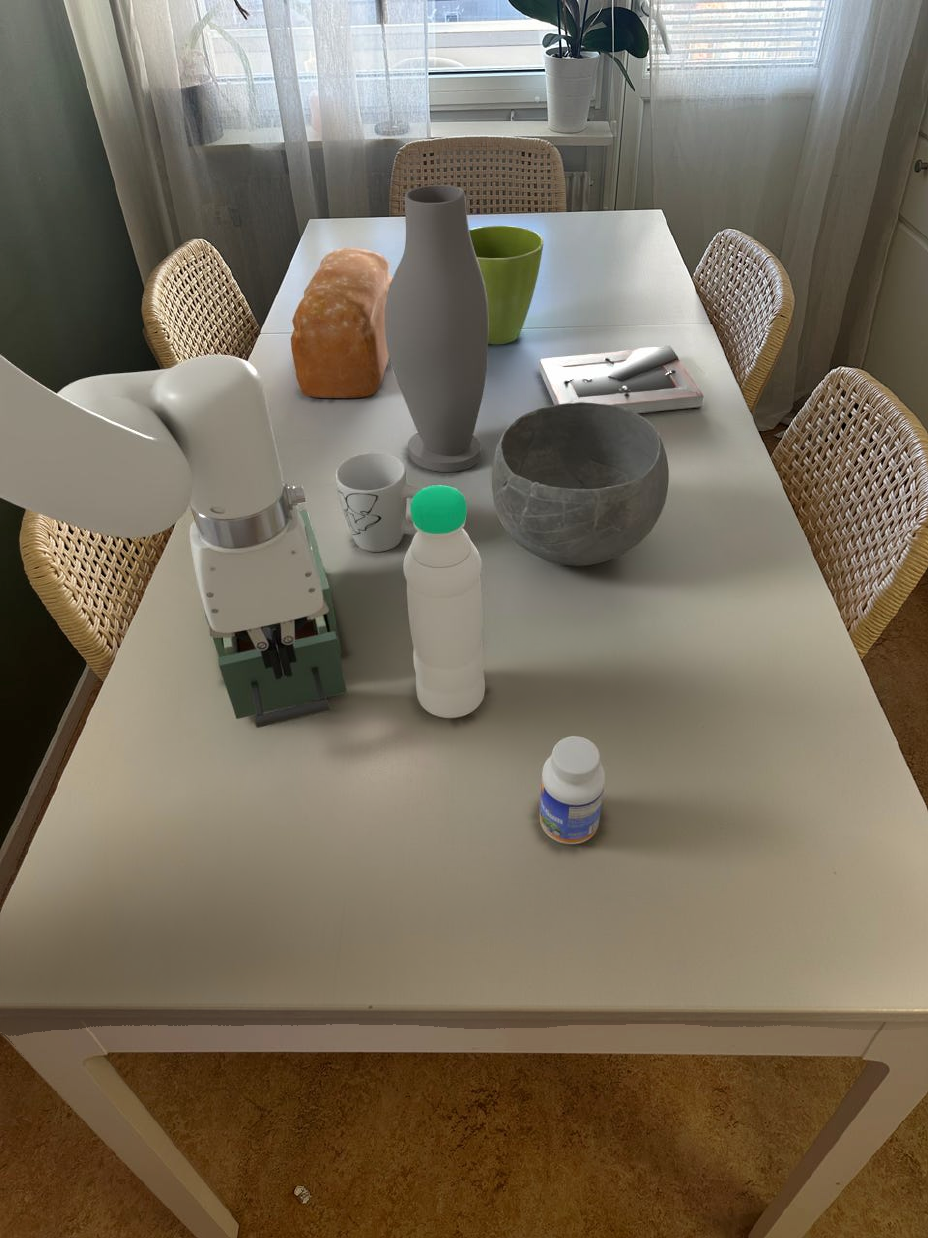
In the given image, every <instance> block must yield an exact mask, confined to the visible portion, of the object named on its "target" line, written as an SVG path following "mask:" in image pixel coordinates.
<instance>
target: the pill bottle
mask: <svg viewBox="0 0 928 1238" xmlns="http://www.w3.org/2000/svg"><path fill="white" fill-rule="evenodd" d="M600 760H601V754H600V750H599V748H598V746H597V745H596V744H595V743H594V742H593V741H592V740H590V739H588V738H585V737H583V736H578V735H571V736H567V737H566V736H565V737H564V738H562V739H560V740H559V741H557V742H556V743H555V745H554V746H553V749H552V752H551V755H550V756H549V757H548V758H547V760H546V761H545V762H544V765H543V767H542V773H541V785H540V802H539V822H540V825H541V828H542V829H543V832H544V833H545V834H546V835H547V836H548V837H549V838H550V839H552V840H553V841H555V842H558V843H560V844H565V845H577V844H582V843H585V842H586V841H588V840H590V839H591V838H592V837H593V836H594V835H595V834H596V832H597V830H598V828H599V824H600V818H601V810H602V804H603V797H604V792H605V791H604V790H605V784H606V772H605V769H604V766H603V764H602V763H601V761H600Z"/></svg>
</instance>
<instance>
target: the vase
mask: <svg viewBox="0 0 928 1238" xmlns="http://www.w3.org/2000/svg"><path fill="white" fill-rule="evenodd" d="M466 200H467V199H466V193H465V190H464V189H463V188H461V187H458V186H456V185H451V184H427V185H421V186H417V187H414V188H412V189H409V190H408V191H406V193H405V194H404V216H405V243H404V244H405V245H404V251H403V254H402V257H401V259H400V262H399V264H398V266H397V268H396V270H395V271H394V274H393V276H392V281H391V283H390V286H389V289H388V292H387V297H386V305H385V338H386V345H387V351H388V355H389V362H390V366H391V368H392V371H393V375H394V377H395V378H396V382H397V384H398V387H399V390H400V391H401V394H402V396H403V399H404V401H405V404H406V407H407V409H408V411H409V415H410V417H411V419H412V422H413V424H414V427H415V429H416V431H417V432H416V433H414V434H413V435H412V436H410V438H409V439H408V442H407V448H408V450H407V451H408V456H409V458H410V460H411V462H413V463H414V464H416V465H417V466H418V467H421V468H424V469H426V470H429V471H434V472H440V473H455V472H460V471H461V472H462V471H465V470H469V469H470V468H473V467H474V466H476V465H477V464H478V463H479V462H480V461H481V457H482V449H481V443H480V440H479V439H478V438H477V437H476V436H475V435H474V433H475V429H476V426H477V425H476V424H477V422H478V418H479V417H478V416H479V413H480V410H481V405H482V401H483V398H484V392H485V386H486V377H487V370H488V369H487V367H488V366H487V365H488V354H489V353H488V352H489V344H488V325H489V320H488V301H487V293H486V288H485V283H484V279H483V275H482V272H481V269H480V266H479V263H478V260H477V257H476V254H475V251H474V248H473V244H472V240H471V236H470V232H469V230H470V228H469V221H468V213H467V201H466Z"/></svg>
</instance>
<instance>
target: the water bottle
mask: <svg viewBox="0 0 928 1238" xmlns="http://www.w3.org/2000/svg"><path fill="white" fill-rule="evenodd" d="M467 509H468V507H467V500H466V498H465V495H464V494H463V493H462V492H461V491H460V490H459V489H457V488H456V487H452V486H448V485H444V484H442V485H441V484H438V485H437V484H434V485H430V486H426V487H423V488H422V490H420V491H419V492H417V493H416V494H415V496H414V497H413V498H411V501H410V516H411V520H412V524H414V527H415V528H416V530H417V533H416V534H415V535H413V537H412V540H411V544H410V545H409V547H408V549H407V551H406V552H405V553H406V554H405V556H404V559H403V574H404V578H405V580H406V600H407V612H408V613H407V614H408V620H409V629H410V635H411V640H412V641H411V642H412V646H413V652H412V659H413V668H414V672H415V691H416V697H417V700H418V703H419V704H420V706H421V707H422V708H423V709H424V710H425V711H426V712H427V713H429V714H431V715H433V716H436V717H439V718H443V719H457V718H460V717H464V716H466V715H468V714H471V713H472V712H474V711H475V710H476V709H477V708H478V707H479V706H480V705H481V704H482V703H483V700H484V697H485V694H486V693H485V692H486V683H485V674H484V664H485V656H484V655H485V654H484V648H483V644H482V643H483V642H482V640H483V629H484V628H483V627H484V626H483V624H484V623H483V621H484V619H483V617H484V616H483V614H484V613H483V595H482V584H481V578H480V577H481V573H482V559H481V555H480V553H479V551H478V549H477V547H476V546H475V544H474V543H473V542H472V540H471V538H470V536H469V534H468V533H467V531H466V530H465V529H464V526H465V525H466V519H467V514H468V513H467Z"/></svg>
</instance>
